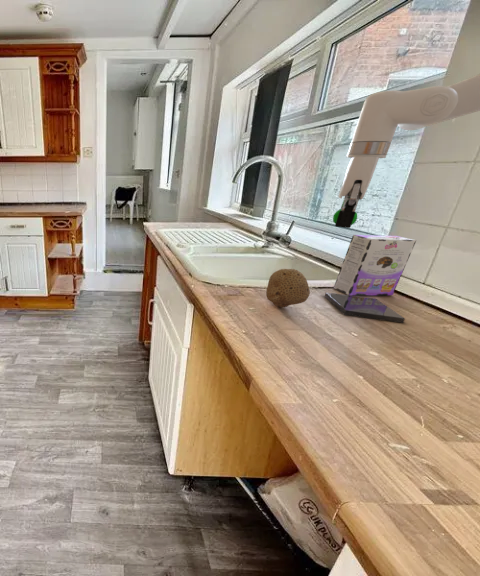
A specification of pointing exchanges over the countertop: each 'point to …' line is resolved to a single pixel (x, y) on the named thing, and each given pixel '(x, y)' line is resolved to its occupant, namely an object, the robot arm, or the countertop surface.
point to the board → (363, 307)
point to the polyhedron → (338, 214)
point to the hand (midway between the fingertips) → (342, 225)
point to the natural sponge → (287, 288)
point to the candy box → (373, 264)
